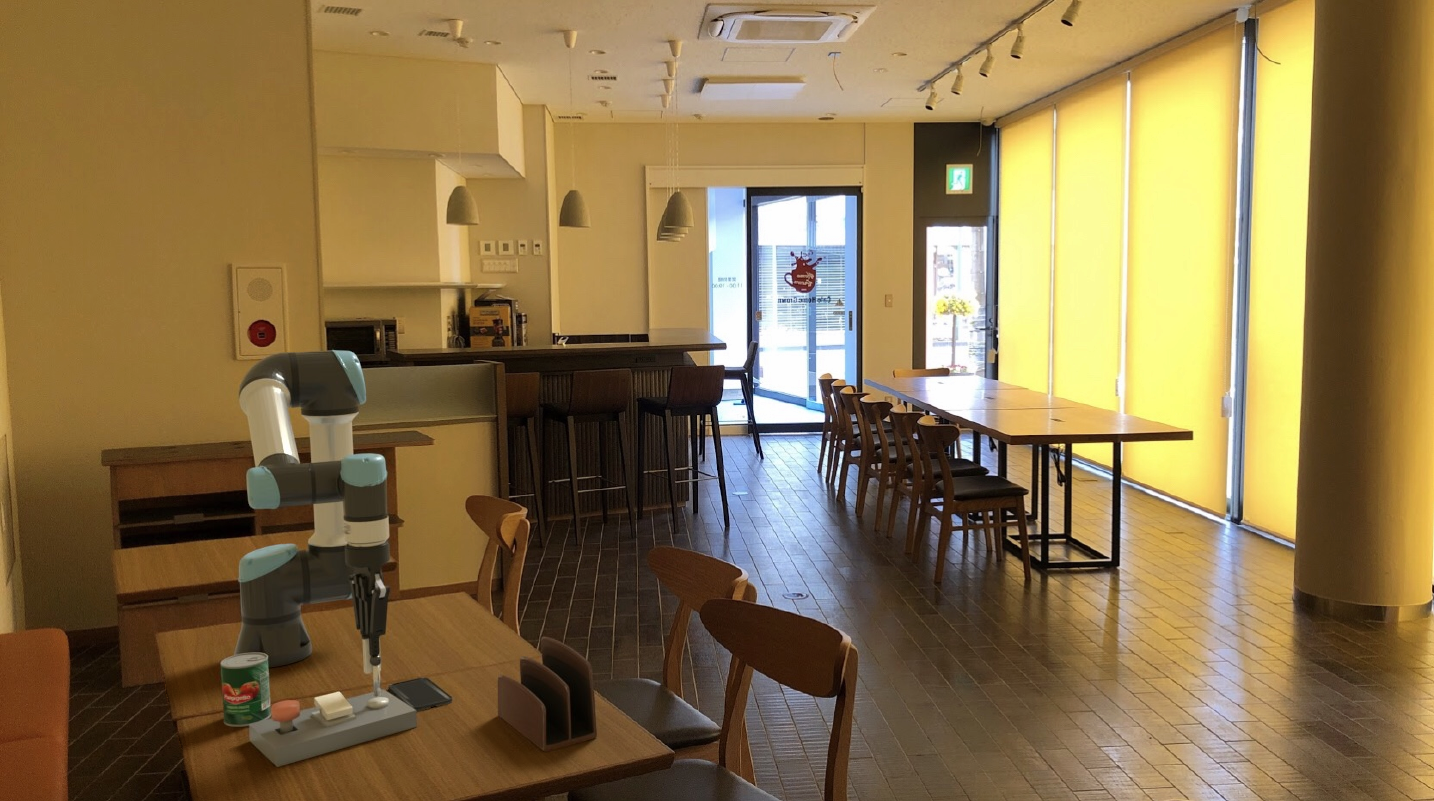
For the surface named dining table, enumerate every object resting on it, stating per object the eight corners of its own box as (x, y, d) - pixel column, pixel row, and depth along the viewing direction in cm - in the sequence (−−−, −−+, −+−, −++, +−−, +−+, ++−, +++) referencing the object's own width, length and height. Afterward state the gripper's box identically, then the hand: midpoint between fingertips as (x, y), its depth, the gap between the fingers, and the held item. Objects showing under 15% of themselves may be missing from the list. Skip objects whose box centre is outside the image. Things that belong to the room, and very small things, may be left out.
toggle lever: (369, 695, 190) (367, 654, 190) (380, 692, 192) (378, 652, 191) (374, 698, 189) (372, 657, 188) (385, 695, 190) (383, 654, 189)
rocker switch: (314, 705, 186) (314, 697, 186) (339, 698, 189) (339, 691, 188) (327, 721, 182) (327, 714, 181) (352, 715, 184) (352, 707, 184)
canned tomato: (224, 730, 188) (220, 669, 187) (223, 714, 195) (219, 656, 194) (272, 721, 191) (269, 662, 190) (270, 707, 199) (267, 649, 198)
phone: (425, 676, 211) (454, 698, 199) (426, 681, 211) (454, 704, 199) (386, 685, 207) (412, 708, 195) (386, 690, 207) (413, 714, 195)
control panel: (249, 740, 183) (248, 719, 183) (384, 704, 199) (383, 685, 198) (277, 766, 172) (275, 744, 172) (417, 726, 188) (416, 705, 188)
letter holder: (547, 703, 198) (545, 629, 197) (597, 739, 182) (595, 658, 180) (497, 716, 192) (494, 640, 191) (544, 753, 176) (541, 670, 175)
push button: (269, 733, 180) (267, 704, 180) (295, 726, 183) (293, 698, 183) (277, 741, 177) (276, 712, 177) (304, 733, 180) (303, 705, 179)
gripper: (332, 539, 191) (338, 667, 193) (360, 551, 181) (366, 686, 184) (372, 532, 196) (378, 658, 198) (402, 544, 186) (407, 675, 188)
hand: (372, 671), depth 191 cm, fingers closed
